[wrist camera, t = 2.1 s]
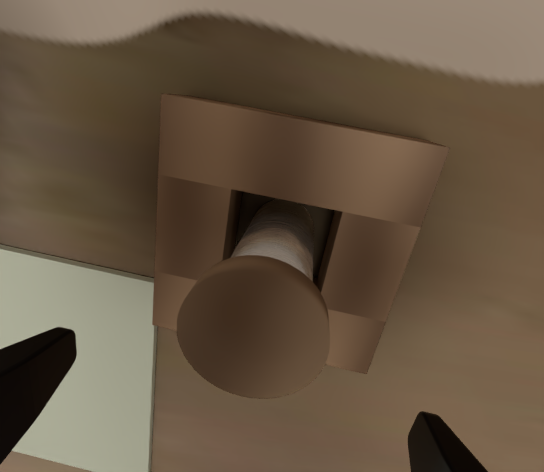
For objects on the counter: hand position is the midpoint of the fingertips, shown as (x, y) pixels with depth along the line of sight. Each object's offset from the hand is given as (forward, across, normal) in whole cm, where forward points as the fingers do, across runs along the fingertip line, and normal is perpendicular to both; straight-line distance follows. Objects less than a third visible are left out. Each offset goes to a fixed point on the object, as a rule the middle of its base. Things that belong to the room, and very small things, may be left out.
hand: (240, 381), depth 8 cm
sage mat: (+11, +17, +15) cm, 25 cm away
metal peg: (+11, 0, 0) cm, 11 cm away
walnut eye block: (+11, 0, 0) cm, 11 cm away
